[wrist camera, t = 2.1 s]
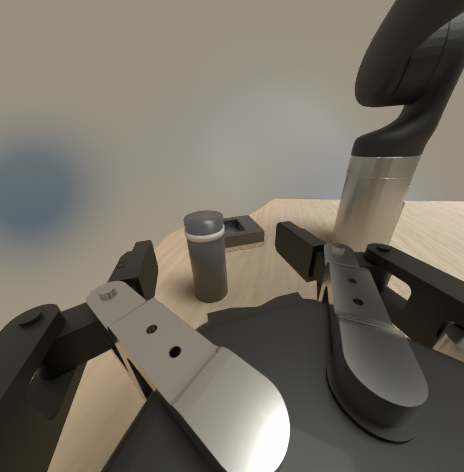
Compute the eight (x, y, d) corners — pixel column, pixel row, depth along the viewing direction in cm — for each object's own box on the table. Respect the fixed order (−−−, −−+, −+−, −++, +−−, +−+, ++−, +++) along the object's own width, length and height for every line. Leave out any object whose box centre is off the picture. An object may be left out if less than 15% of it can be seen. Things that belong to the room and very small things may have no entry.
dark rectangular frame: (248, 227, 48) (248, 215, 46) (263, 245, 39) (264, 231, 38) (194, 235, 45) (192, 222, 43) (198, 257, 36) (196, 241, 35)
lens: (224, 277, 31) (219, 208, 25) (231, 298, 26) (227, 221, 21) (194, 283, 30) (182, 213, 24) (197, 306, 25) (183, 227, 20)
